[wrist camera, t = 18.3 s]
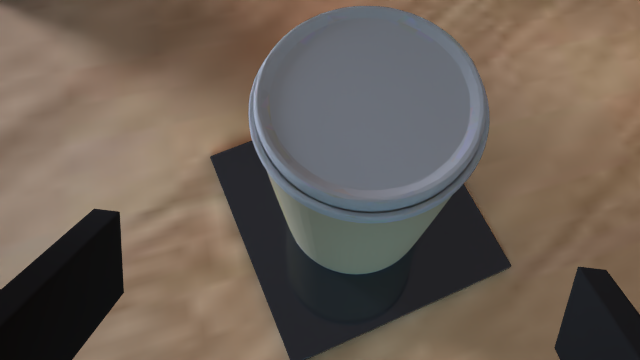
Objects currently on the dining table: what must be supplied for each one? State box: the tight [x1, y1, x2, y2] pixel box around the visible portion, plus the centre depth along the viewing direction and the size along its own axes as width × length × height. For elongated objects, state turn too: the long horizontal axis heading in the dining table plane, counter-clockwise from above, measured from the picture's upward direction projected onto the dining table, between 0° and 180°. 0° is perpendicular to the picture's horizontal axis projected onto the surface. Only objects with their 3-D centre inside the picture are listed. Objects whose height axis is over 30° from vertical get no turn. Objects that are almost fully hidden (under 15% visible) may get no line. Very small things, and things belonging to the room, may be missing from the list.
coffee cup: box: [248, 6, 489, 274], centre depth 27 cm, size 9×9×12 cm
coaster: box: [210, 141, 511, 360], centre depth 32 cm, size 13×13×1 cm
